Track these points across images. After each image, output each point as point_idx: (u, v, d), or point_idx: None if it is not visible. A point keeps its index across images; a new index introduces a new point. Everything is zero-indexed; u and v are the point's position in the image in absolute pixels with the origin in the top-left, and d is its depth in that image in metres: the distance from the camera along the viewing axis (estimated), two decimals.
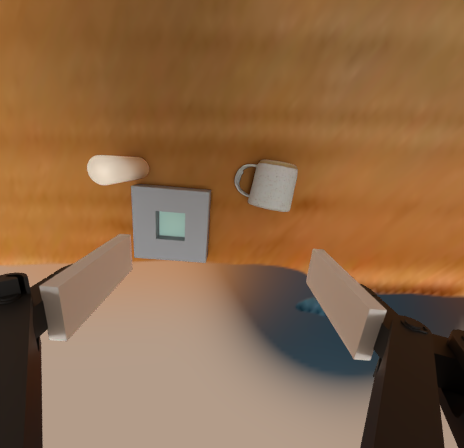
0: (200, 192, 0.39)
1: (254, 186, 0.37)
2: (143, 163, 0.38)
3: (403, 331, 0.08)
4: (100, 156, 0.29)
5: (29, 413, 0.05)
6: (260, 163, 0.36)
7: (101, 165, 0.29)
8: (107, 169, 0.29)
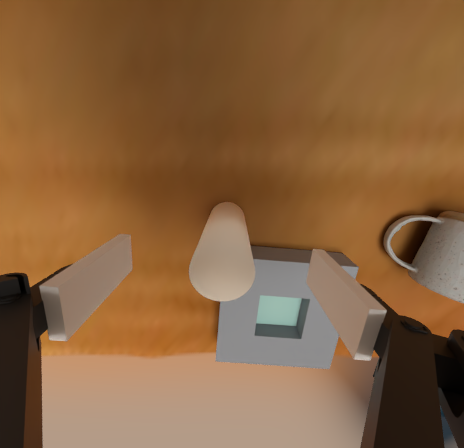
0: (342, 267, 0.22)
1: (447, 262, 0.20)
2: (243, 216, 0.22)
3: (403, 331, 0.08)
4: (223, 245, 0.12)
5: (29, 413, 0.05)
6: None
7: (222, 262, 0.13)
8: (234, 271, 0.13)
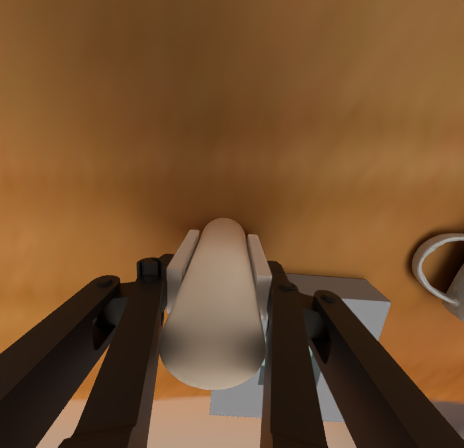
0: (370, 301, 0.17)
1: None
2: (244, 237, 0.17)
3: (280, 293, 0.10)
4: (213, 309, 0.07)
5: (146, 384, 0.06)
6: None
7: (213, 335, 0.08)
8: (232, 347, 0.08)
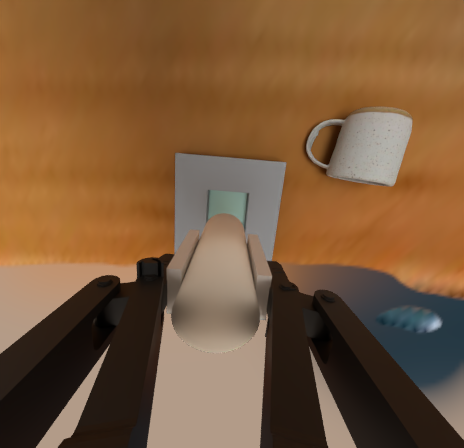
0: (273, 162, 0.27)
1: (345, 149, 0.25)
2: (243, 231, 0.19)
3: (281, 293, 0.10)
4: (216, 283, 0.09)
5: (146, 383, 0.06)
6: (356, 114, 0.24)
7: (216, 305, 0.09)
8: (232, 316, 0.10)
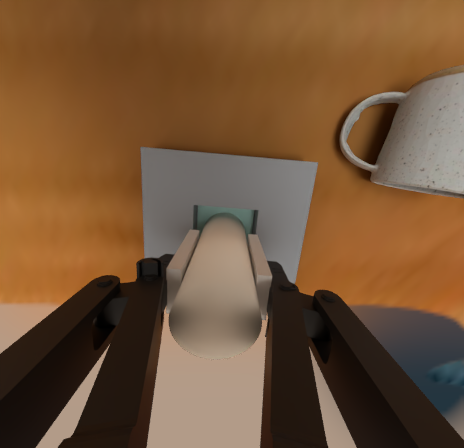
0: (297, 162, 0.17)
1: (413, 139, 0.15)
2: (244, 230, 0.18)
3: (281, 293, 0.10)
4: (216, 287, 0.09)
5: (146, 383, 0.06)
6: (436, 79, 0.14)
7: (215, 309, 0.09)
8: (232, 321, 0.09)
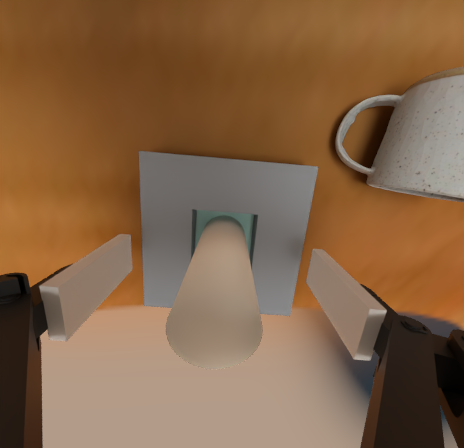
0: (297, 167, 0.17)
1: (408, 142, 0.15)
2: (243, 234, 0.18)
3: (403, 331, 0.08)
4: (215, 294, 0.08)
5: (29, 413, 0.05)
6: (431, 81, 0.14)
7: (214, 318, 0.09)
8: (232, 329, 0.09)
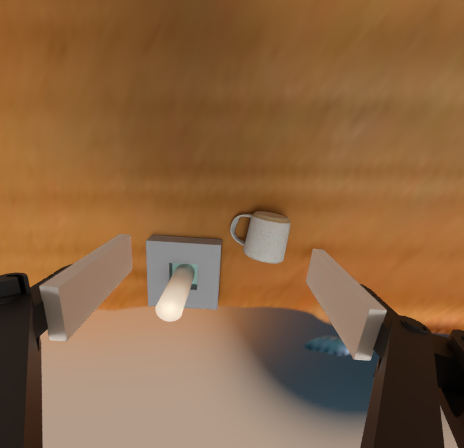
0: (212, 245, 0.40)
1: (249, 238, 0.38)
2: (192, 273, 0.41)
3: (403, 331, 0.08)
4: (168, 299, 0.32)
5: (29, 413, 0.05)
6: (254, 217, 0.38)
7: (168, 306, 0.32)
8: (173, 309, 0.32)
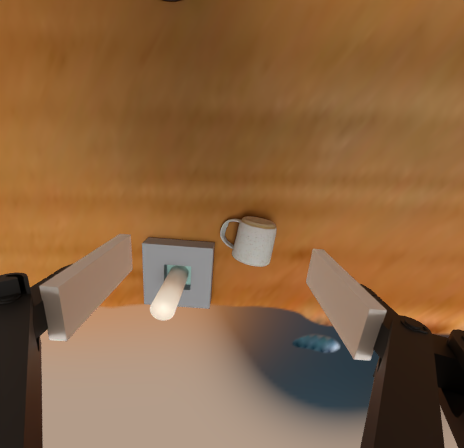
0: (205, 248, 0.42)
1: (237, 242, 0.40)
2: (185, 274, 0.44)
3: (403, 331, 0.08)
4: (161, 300, 0.34)
5: (29, 413, 0.05)
6: (242, 222, 0.40)
7: (162, 306, 0.34)
8: (166, 309, 0.34)
